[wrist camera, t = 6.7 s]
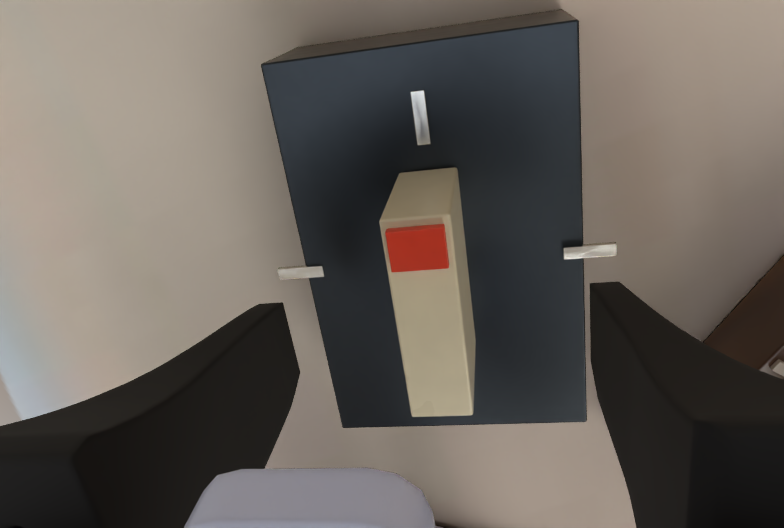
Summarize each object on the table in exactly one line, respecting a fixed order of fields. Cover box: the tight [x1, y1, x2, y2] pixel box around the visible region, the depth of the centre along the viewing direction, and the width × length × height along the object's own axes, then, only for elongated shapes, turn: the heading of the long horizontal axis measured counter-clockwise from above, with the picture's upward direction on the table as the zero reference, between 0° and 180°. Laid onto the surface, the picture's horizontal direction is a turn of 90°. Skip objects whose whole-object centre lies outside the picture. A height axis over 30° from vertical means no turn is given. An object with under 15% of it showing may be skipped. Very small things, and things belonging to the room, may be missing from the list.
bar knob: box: [379, 167, 476, 417], centre depth 16 cm, size 6×2×4 cm, turn 10°
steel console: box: [261, 9, 617, 428], centre depth 19 cm, size 12×10×4 cm
